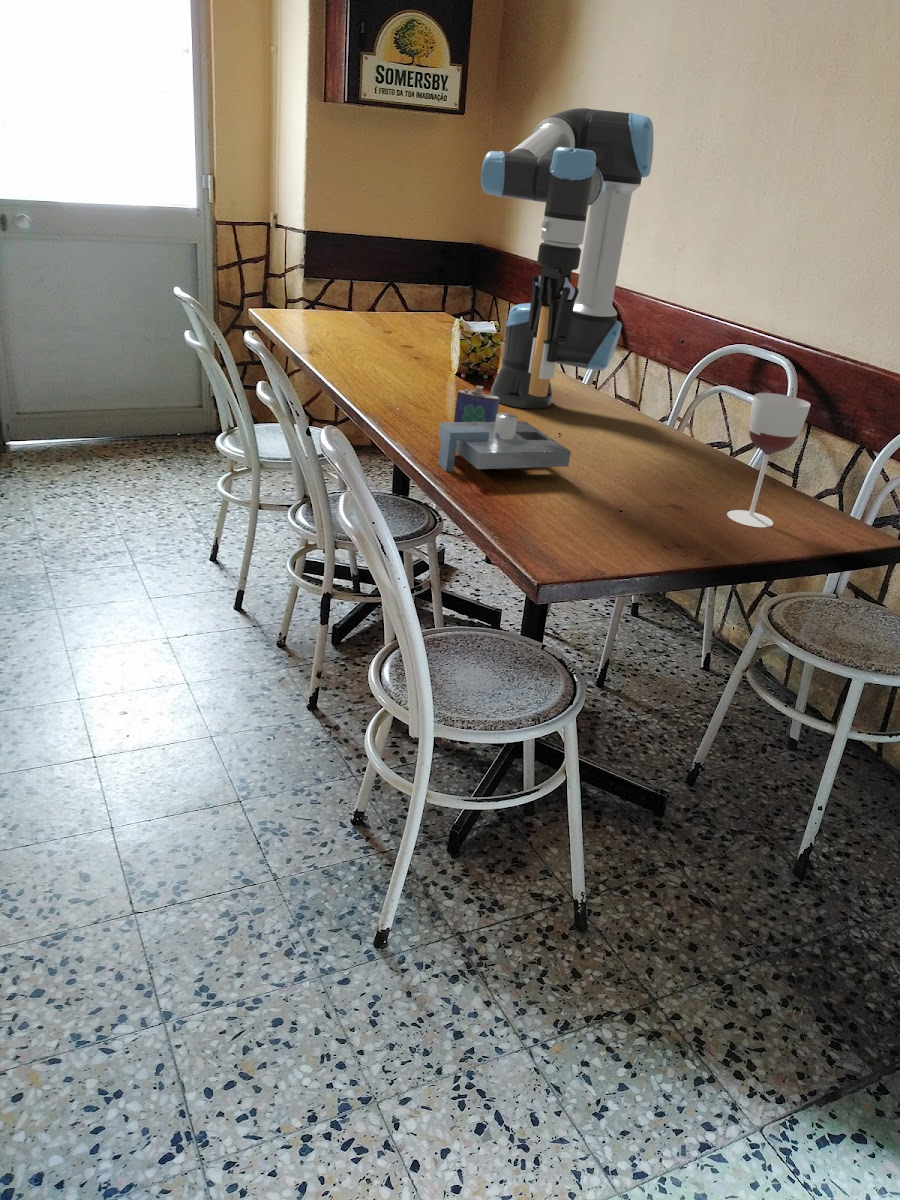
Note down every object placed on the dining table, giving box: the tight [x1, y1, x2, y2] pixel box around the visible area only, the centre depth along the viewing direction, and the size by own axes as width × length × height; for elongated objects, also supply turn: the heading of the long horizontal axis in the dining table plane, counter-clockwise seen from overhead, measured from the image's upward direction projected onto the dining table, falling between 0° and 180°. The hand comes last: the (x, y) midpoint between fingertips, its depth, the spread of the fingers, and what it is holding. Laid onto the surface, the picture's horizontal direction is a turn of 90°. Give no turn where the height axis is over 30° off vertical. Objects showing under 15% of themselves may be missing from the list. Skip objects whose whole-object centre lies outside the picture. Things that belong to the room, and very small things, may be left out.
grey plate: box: [437, 412, 572, 472], centre depth 178 cm, size 22×19×10 cm
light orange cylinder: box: [528, 306, 551, 397], centre depth 173 cm, size 4×4×16 cm
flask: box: [453, 385, 500, 422], centre depth 195 cm, size 9×3×11 cm, turn 74°
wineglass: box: [726, 392, 811, 528], centre depth 164 cm, size 9×10×22 cm
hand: (540, 375), depth 175 cm, fingers closed on light orange cylinder, 4 cm apart
